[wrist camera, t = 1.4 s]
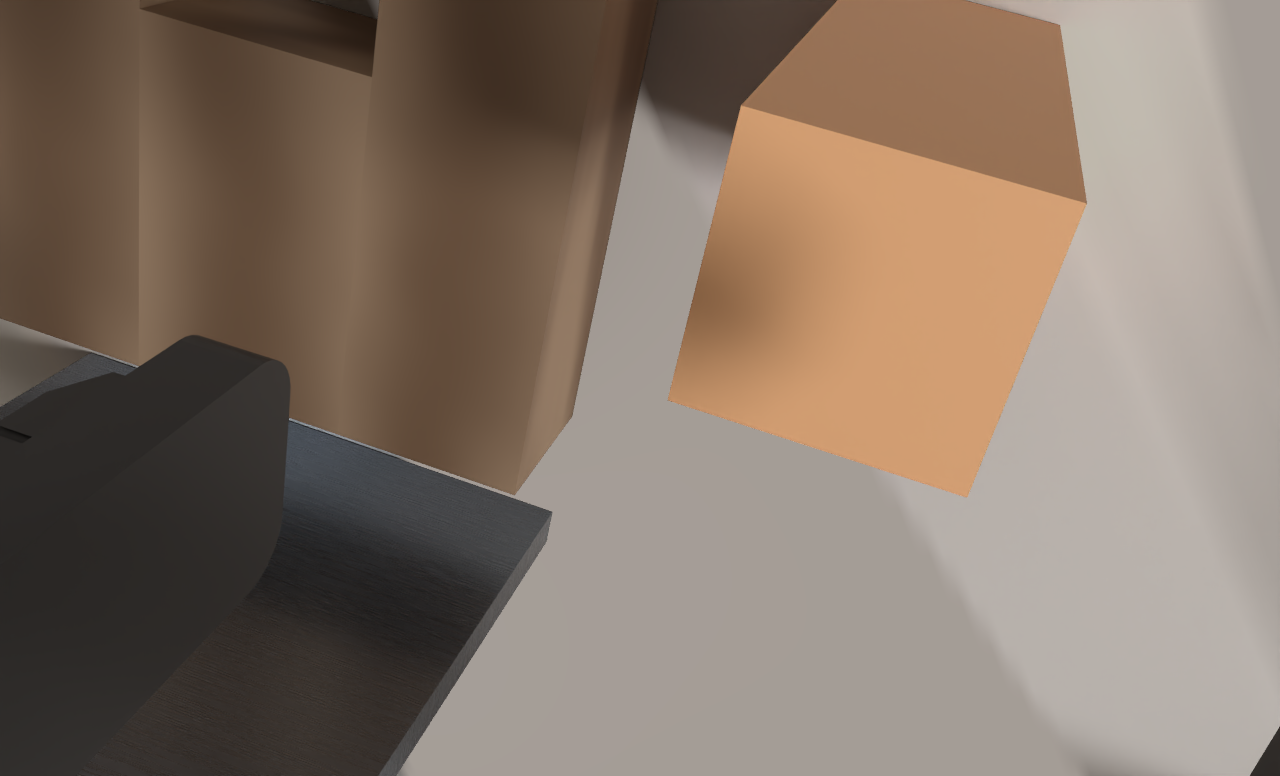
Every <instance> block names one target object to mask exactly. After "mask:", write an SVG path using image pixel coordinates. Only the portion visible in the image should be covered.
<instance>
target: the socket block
mask: <svg viewBox="0 0 1280 776" xmlns="http://www.w3.org/2000/svg"><path fill="white" fill-rule="evenodd" d="M657 2H658V0H379V10H378V20H377V19H374V18H370V17H367V16H363V15H360V14H356V13H353V12H349V11H346V10H342V9H339V8H335V7H332V6H328V5H325V4H321V3H318V2H314V1H311V0H0V318H1V319H4V320H7V321H10V322H13V323H16V324H18V325H21V326H24V327H27V328H30V329H33V330H36V331H39V332H42V333H45V334H47V335H50V336H53V337H56V338H59V339H62V340H65V341H68V342H71V343H74V344H77V345H79V346H82V347H85V348H88V349H91V350H94V351H97V352H100V353H103V354H106V355H109V356H111V357H114V358H117V359H120V360H123V361H126V362H129V363H132V364H135V365H138V366H141V365H142V364H144V363H145V362H147V361H148V360H150V359H151V358H153V357H154V356H156V355H157V354H159V353H160V352H162V351H163V350H165V349H166V348H168V347H170V346H171V345H173V344H174V343H176V342H177V341H179V340H180V339H182V338H184V337H186V336H190V335H200V336H203V337H206V338H209V339H212V340H215V341H218V342H222V343H225V344H228V345H231V346H234V347H237V348H240V349H243V350H247V351H250V352H253V353H256V354H259V355H262V356H265V357H269V358H272V359H275V360H278V361H280V362H282V363H283V364H284V365H285V366H286V368H287V370H288V373H289V377H290V385H291V389H290V408H289V418H292V419H295V420H297V421H300V422H303V423H306V424H309V425H312V426H315V427H318V428H321V429H324V430H327V431H329V432H332V433H335V434H338V435H341V436H344V437H347V438H350V439H353V440H356V441H358V442H361V443H364V444H367V445H370V446H373V447H376V448H379V449H382V450H385V451H388V452H390V453H393V454H396V455H399V456H402V457H405V458H408V459H411V460H414V461H417V462H420V463H422V464H426V465H428V466H431V467H434V468H437V469H440V470H443V471H446V472H449V473H451V474H455V475H457V476H460V477H463V478H466V479H469V480H472V481H475V482H478V483H481V484H483V485H487V486H489V487H492V488H495V489H498V490H501V491H504V492H507V493H510V494H513V495H515V494H516V492H517V491H518V490H519V488H520V487H521V486H522V484H523V483H524V482H525V480H526V479H527V477H528V476H529V475H530V473H531V472H532V471H533V469H534V468H535V467H536V465H537V464H538V462H539V461H540V460H541V458H542V457H543V456H544V454H545V453H546V451H547V450H548V449H549V447H550V446H551V445H552V443H553V442H554V440H555V439H556V438H557V436H558V435H559V434H560V432H561V431H562V430H563V428H564V427H565V425H566V424H567V423H568V421H569V420H570V419H571V417H572V415H573V409H574V405H575V400H576V395H577V390H578V385H579V380H580V375H581V371H582V366H583V361H584V356H585V351H586V346H587V341H588V337H589V331H590V327H591V322H592V317H593V312H594V308H595V303H596V298H597V293H598V288H599V283H600V279H601V274H602V268H603V264H604V259H605V254H606V250H607V245H608V240H609V235H610V230H611V225H612V220H613V215H614V211H615V206H616V201H617V196H618V191H619V186H620V181H621V177H622V172H623V167H624V162H625V157H626V152H627V148H628V142H629V138H630V133H631V128H632V123H633V118H634V114H635V109H636V104H637V99H638V94H639V89H640V84H641V80H642V75H643V70H644V65H645V60H646V55H647V51H648V46H649V41H650V36H651V31H652V26H653V21H654V17H655V12H656V7H657Z"/></svg>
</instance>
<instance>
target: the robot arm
mask: <svg viewBox="0 0 1280 776" xmlns="http://www.w3.org/2000/svg"><path fill="white" fill-rule="evenodd" d="M290 389H291V385H290V377H289V373H288V370H287V368H286V366H285V365H284V364H283V363H282V362H280V361H278V360H275V359H272V358H269V357H265V356H262V355H259V354H256V353H253V352H250V351H247V350H243V349H240V348H237V347H234V346H231V345H228V344H225V343H222V342H218V341H215V340H212V339H209V338H206V337H203V336H200V335H190V336H186V337H184V338H182V339H180V340H179V341H177V342H176V343H174V344H173V345H171V346H170V347H168V348H166V349H165V350H163V351H162V352H160V353H159V354H157V355H156V356H154V357H153V358H151V359H150V360H148V361H147V362H145V363H144V364H142V365H141V366H139V367H138V368H136V369H135V370H133V371H132V372H130V373H129V374H127V375H125V376H124V375H121V374H118V373H115V372H111V373H108V374H105V375H101V376H98V377H95V378H91V379H88V380H84V381H81V382H78V383H74V384H71V385H68V386H64V387H61V388H58V389H54V390H51V391H47V392H45V393H44V394H42V395H40V396H39V397H37V398H36V399H34V400H32V401H31V402H29V403H28V404H26V405H24V406H23V407H21V408H20V409H18V410H16V411H15V412H13V413H11V414H10V415H8V416H7V417H5V418H3V419H2V420H0V776H76V775H77V774H78V773H79V772H80V771H81V770H82V769H83V768H84V767H85V766H86V765H87V764H88V763H89V762H90V761H91V759H92V758H93V757H94V756H95V755H96V754H97V753H98V752H99V751H100V750H101V749H102V748H103V747H104V746H105V745H106V744H107V743H108V742H109V740H110V739H111V738H112V737H113V736H114V735H115V734H116V733H117V732H118V731H119V730H120V729H121V728H122V727H123V726H124V725H125V724H126V723H127V721H128V720H129V719H130V718H131V717H132V716H133V715H134V714H135V713H136V712H137V711H138V710H139V709H140V708H141V707H142V706H143V705H144V704H145V702H146V701H147V700H148V699H149V698H150V697H151V696H152V695H153V694H154V693H155V692H156V691H157V690H158V689H159V688H160V687H161V686H162V685H163V683H164V682H165V681H166V680H167V679H168V678H169V677H170V676H171V675H172V674H173V673H174V672H175V671H176V670H177V669H178V668H179V667H180V665H181V664H182V663H183V662H184V661H185V660H186V659H187V658H188V657H189V656H190V655H191V654H192V653H193V652H194V651H195V650H196V649H197V648H198V646H199V645H200V644H201V643H202V642H203V641H204V640H205V639H206V638H207V637H208V636H209V635H210V634H211V633H212V632H213V631H214V630H215V629H216V627H217V626H218V625H219V624H220V623H221V622H222V621H223V620H224V619H225V618H226V617H227V616H228V615H229V614H230V613H231V612H232V611H233V610H234V608H235V607H236V606H237V605H238V604H239V603H240V602H241V601H242V600H243V599H244V598H245V597H246V596H247V595H248V594H249V592H250V591H251V590H252V589H253V588H254V586H255V585H256V584H257V582H258V581H259V579H260V578H261V576H262V574H263V573H264V571H265V569H266V567H267V565H268V563H269V561H270V559H271V556H272V554H273V552H274V549H275V546H276V543H277V540H278V536H279V533H280V528H281V522H282V513H283V498H284V483H285V468H286V453H287V438H288V423H289V408H290ZM1250 776H1280V727H1279V729H1278V730H1277V732H1276V734H1275V735H1274V737H1273V739H1272V740H1271V742H1270V744H1269V745H1268V747H1267V748H1266V750H1265V752H1264V753H1263V755H1262V757H1261V758H1260V760H1259V761H1258V763H1257V765H1256V766H1255V768H1254V770H1253V771H1252V773H1251V775H1250Z"/></svg>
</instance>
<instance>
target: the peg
mask: <svg viewBox="0 0 1280 776" xmlns="http://www.w3.org/2000/svg"><path fill="white" fill-rule="evenodd" d="M1086 204H1087V201H1086V194H1085V188H1084V181H1083V175H1082V168H1081V161H1080V155H1079V148H1078V141H1077V135H1076V128H1075V121H1074V115H1073V108H1072V102H1071V95H1070V88H1069V82H1068V75H1067V68H1066V62H1065V55H1064V49H1063V42H1062V35H1061V29H1060V25H1057V24H1053V23H1049V22H1045V21H1042V20H1038V19H1034V18H1030V17H1026V16H1023V15H1019V14H1015V13H1011V12H1007V11H1003V10H1000V9H996V8H992V7H988V6H984V5H981V4H977V3H973V2H969V1H965V0H837V1H836V2H835V4H834V5H833V6H832V7H831V8H830V9H829V10H828V11H827V12H826V13H825V14H824V16H823V17H822V18H821V19H820V20H819V21H818V22H817V23H816V24H815V25H814V26H813V28H812V29H811V30H810V31H809V32H808V33H807V34H806V35H805V36H804V37H803V38H802V40H801V41H800V42H799V43H798V44H797V45H796V46H795V47H794V48H793V49H792V50H791V51H790V53H789V54H788V55H787V56H786V57H785V58H784V59H783V60H782V61H781V62H780V63H779V65H778V66H777V67H776V68H775V69H774V70H773V71H772V72H771V73H770V74H769V75H768V77H767V78H766V79H765V80H764V81H763V82H762V83H761V84H760V85H759V86H758V87H757V89H756V90H755V91H754V92H753V93H752V94H751V95H750V96H749V97H748V98H747V99H746V101H745V102H744V103H743V104H742V105H741V107H740V111H739V115H738V119H737V123H736V127H735V131H734V136H733V140H732V144H731V148H730V152H729V156H728V160H727V164H726V168H725V172H724V176H723V180H722V184H721V188H720V192H719V196H718V200H717V204H716V208H715V212H714V216H713V220H712V224H711V228H710V232H709V236H708V240H707V244H706V248H705V252H704V256H703V260H702V264H701V268H700V272H699V276H698V281H697V284H696V288H695V293H694V297H693V300H692V304H691V308H690V313H689V316H688V320H687V325H686V328H685V332H684V336H683V341H682V345H681V348H680V352H679V357H678V360H677V365H676V369H675V373H674V377H673V381H672V385H671V389H670V393H669V397H668V400H669V401H671V402H675V403H677V404H681V405H684V406H687V407H690V408H693V409H696V410H699V411H702V412H705V413H708V414H711V415H715V416H718V417H721V418H724V419H727V420H730V421H733V422H736V423H739V424H742V425H745V426H748V427H751V428H754V429H758V430H761V431H764V432H767V433H770V434H773V435H776V436H779V437H782V438H785V439H789V440H792V441H794V442H798V443H801V444H804V445H807V446H810V447H813V448H816V449H819V450H823V451H825V452H828V453H831V454H834V455H838V456H841V457H844V458H847V459H850V460H853V461H856V462H859V463H862V464H865V465H868V466H871V467H874V468H878V469H881V470H884V471H887V472H890V473H893V474H896V475H899V476H902V477H905V478H908V479H911V480H914V481H918V482H921V483H924V484H927V485H930V486H933V487H936V488H939V489H942V490H945V491H948V492H951V493H955V494H958V495H961V496H964V497H968V494H969V492H970V489H971V487H972V484H973V482H974V479H975V477H976V474H977V472H978V470H979V467H980V465H981V462H982V460H983V457H984V455H985V452H986V450H987V447H988V445H989V443H990V440H991V438H992V435H993V433H994V430H995V428H996V425H997V423H998V420H999V418H1000V416H1001V413H1002V411H1003V408H1004V406H1005V403H1006V401H1007V398H1008V396H1009V393H1010V391H1011V389H1012V386H1013V384H1014V381H1015V379H1016V376H1017V374H1018V371H1019V369H1020V366H1021V364H1022V362H1023V359H1024V357H1025V354H1026V352H1027V349H1028V347H1029V344H1030V342H1031V339H1032V337H1033V335H1034V332H1035V330H1036V327H1037V325H1038V322H1039V320H1040V317H1041V315H1042V312H1043V310H1044V308H1045V305H1046V303H1047V300H1048V298H1049V295H1050V293H1051V290H1052V288H1053V285H1054V283H1055V281H1056V278H1057V276H1058V273H1059V271H1060V268H1061V266H1062V263H1063V261H1064V258H1065V256H1066V253H1067V251H1068V249H1069V246H1070V244H1071V241H1072V239H1073V236H1074V234H1075V231H1076V229H1077V226H1078V224H1079V222H1080V219H1081V217H1082V214H1083V212H1084V209H1085V207H1086Z"/></svg>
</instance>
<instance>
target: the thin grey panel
mask: <svg viewBox="0 0 1280 776" xmlns="http://www.w3.org/2000/svg"><path fill="white" fill-rule="evenodd" d="M135 369H136V368H133V367H130V366H128V365H125V364H122V363H119V362H116V361H113V360H110V359H107V358H104V357H101V356H98V355H96V354H93V353H90V354H88V355H87V356H85V357H83V358H82V359H80V360H78V361H77V362H75V363H73V364H72V365H70V366H68V367H67V368H65V369H63V370H62V371H60V372H58V373H57V374H55V375H53V376H51V377H50V378H48V379H46V380H45V381H43V382H41V383H40V384H38V385H36V386H35V387H33V388H31V389H30V390H28V391H26V392H25V393H23V394H21V395H20V396H18V397H16V398H15V399H13V400H11V401H10V402H8V403H6V404H5V405H3V406H1V407H0V420H2V419H3V418H5V417H7V416H8V415H10V414H11V413H13V412H15V411H16V410H18V409H20V408H21V407H23V406H24V405H26V404H28V403H29V402H31V401H32V400H34V399H36V398H37V397H39V396H40V395H42V394H44V393H45V392H47V391H51V390H54V389H58V388H61V387H64V386H68V385H71V384H74V383H78V382H81V381H84V380H88V379H91V378H95V377H98V376H101V375H105V374H108V373H111V372H115V373H118V374H121V375H124V376H125V375H127V374H129V373H130V372H132V371H133V370H135ZM551 516H552V512H551V511H548V510H545V509H543V508H539V507H537V506H534V505H531V504H527V503H525V502H522V501H519V500H516V499H513V498H510V497H508V496H505V495H502V494H499V493H496V492H493V491H490V490H487V489H484V488H481V487H478V486H476V485H473V484H470V483H467V482H464V481H461V480H458V479H455V478H453V477H450V476H447V475H444V474H441V473H438V472H435V471H432V470H429V469H426V468H423V467H421V466H418V465H415V464H412V463H409V462H406V461H403V460H400V459H397V458H395V457H392V456H389V455H386V454H383V453H380V452H377V451H374V450H371V449H368V448H366V447H363V446H360V445H357V444H354V443H351V442H348V441H345V440H342V439H339V438H336V437H334V436H331V435H328V434H325V433H322V432H319V431H316V430H313V429H310V428H307V427H305V426H302V425H299V424H296V423H293V422H290V421H289V423H288V438H287V453H286V468H285V483H284V498H283V513H282V522H281V528H280V533H279V536H278V540H277V543H276V546H275V549H274V552H273V554H272V556H271V559H270V561H269V563H268V565H267V567H266V569H265V571H264V573H263V574H262V576H261V578H260V579H259V581H258V582H257V584H256V585H255V586H254V588H253V589H252V590H251V591H250V592H249V594H248V595H247V596H246V597H245V598H244V599H243V600H242V601H241V602H240V603H239V604H238V605H237V606H236V607H235V608H234V610H233V611H232V612H231V613H230V614H229V615H228V616H227V617H226V618H225V619H224V620H223V621H222V622H221V623H220V624H219V625H218V626H217V627H216V629H215V630H214V631H213V632H212V633H211V634H210V635H209V636H208V637H207V638H206V639H205V640H204V641H203V642H202V643H201V644H200V645H199V646H198V648H197V649H196V650H195V651H194V652H193V653H192V654H191V655H190V656H189V657H188V658H187V659H186V660H185V661H184V662H183V663H182V664H181V665H180V667H179V668H178V669H177V670H176V671H175V672H174V673H173V674H172V675H171V676H170V677H169V678H168V679H167V680H166V681H165V682H164V683H163V685H162V686H161V687H160V688H159V689H158V690H157V691H156V692H155V693H154V694H153V695H152V696H151V697H150V698H149V699H148V700H147V701H146V702H145V704H144V705H143V706H142V707H141V708H140V709H139V710H138V711H137V712H136V713H135V714H134V715H133V716H132V717H131V718H130V719H129V720H128V721H127V723H126V724H125V725H124V726H123V727H122V728H121V729H120V730H119V731H118V732H117V733H116V734H115V735H114V736H113V737H112V738H111V739H110V740H109V742H108V743H107V744H106V745H105V746H104V747H103V748H102V749H101V750H100V751H99V752H98V753H97V754H96V755H95V756H94V757H93V758H92V759H91V761H90V762H89V763H88V764H87V765H86V766H85V767H84V768H83V769H82V770H81V771H80V772H79V773H78V774H77V775H76V776H396V775H397V774H398V772H399V770H400V769H401V767H402V766H403V764H404V763H405V761H406V760H407V758H408V756H409V754H410V753H411V752H412V750H413V748H414V747H415V746H416V744H417V742H418V741H419V739H420V738H421V736H422V735H423V733H424V731H425V730H426V728H427V727H428V725H429V724H430V722H431V721H432V719H433V717H434V716H435V714H436V713H437V711H438V709H439V708H440V707H441V705H442V703H443V702H444V700H445V699H446V697H447V696H448V694H449V693H450V691H451V689H452V688H453V686H454V685H455V683H456V682H457V680H458V679H459V677H460V675H461V674H462V672H463V671H464V669H465V668H466V666H467V665H468V663H469V661H470V660H471V658H472V657H473V655H474V654H475V652H476V651H477V649H478V647H479V646H480V644H481V643H482V641H483V640H484V638H485V636H486V635H487V633H488V632H489V630H490V628H491V627H492V625H493V624H494V622H495V621H496V619H497V618H498V616H499V615H500V613H501V612H502V610H503V608H504V607H505V605H506V604H507V602H508V601H509V599H510V598H511V596H512V594H513V593H514V591H515V590H516V588H517V587H518V585H519V584H520V582H521V580H522V579H523V577H524V576H525V574H526V573H527V571H528V569H529V568H530V566H531V565H532V563H533V562H534V560H535V558H536V557H537V556H538V554H539V552H540V551H541V549H542V548H543V546H544V545H545V543H546V540H547V536H548V531H549V525H550V521H551Z"/></svg>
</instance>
